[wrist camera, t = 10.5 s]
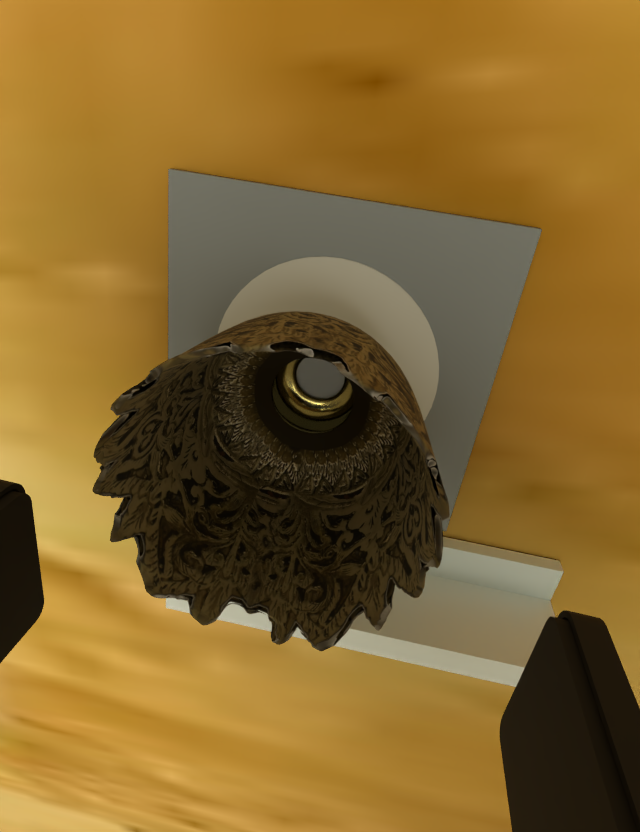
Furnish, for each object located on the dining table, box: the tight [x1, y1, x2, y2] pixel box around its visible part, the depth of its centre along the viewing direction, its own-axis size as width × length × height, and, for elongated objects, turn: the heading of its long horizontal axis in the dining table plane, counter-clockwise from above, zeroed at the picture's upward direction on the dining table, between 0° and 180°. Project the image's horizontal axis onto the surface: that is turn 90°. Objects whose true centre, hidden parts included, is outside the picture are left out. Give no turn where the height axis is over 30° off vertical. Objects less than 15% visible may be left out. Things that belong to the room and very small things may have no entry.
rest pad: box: [168, 169, 542, 531], centre depth 18 cm, size 11×11×1 cm
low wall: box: [166, 537, 564, 687], centre depth 20 cm, size 4×14×4 cm, turn 82°
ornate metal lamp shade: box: [93, 311, 450, 651], centre depth 14 cm, size 8×7×8 cm
